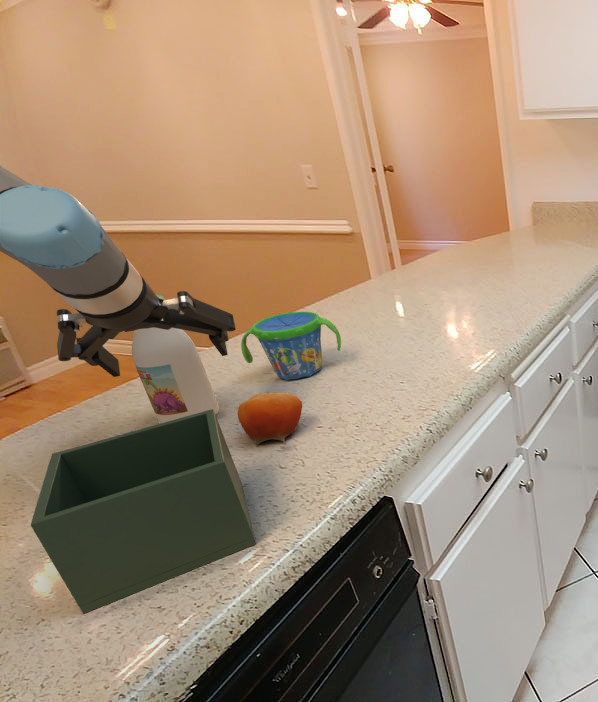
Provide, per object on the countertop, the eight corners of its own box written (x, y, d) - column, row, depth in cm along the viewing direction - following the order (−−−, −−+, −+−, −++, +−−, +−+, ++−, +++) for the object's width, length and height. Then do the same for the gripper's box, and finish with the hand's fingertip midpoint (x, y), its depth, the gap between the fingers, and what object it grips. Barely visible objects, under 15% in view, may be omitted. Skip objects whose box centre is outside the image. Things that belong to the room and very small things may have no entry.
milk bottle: (206, 402, 94) (161, 287, 85) (229, 413, 90) (186, 294, 82) (152, 423, 88) (99, 302, 79) (175, 436, 84) (122, 310, 76)
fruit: (230, 452, 77) (225, 395, 77) (254, 451, 84) (249, 398, 85) (295, 441, 78) (289, 385, 79) (313, 441, 86) (307, 390, 87)
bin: (94, 533, 65) (51, 453, 60) (241, 482, 73) (213, 408, 68) (83, 614, 54) (30, 524, 50) (256, 544, 62) (224, 461, 58)
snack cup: (352, 355, 109) (339, 306, 105) (340, 378, 100) (326, 325, 96) (264, 366, 106) (248, 315, 102) (243, 390, 97) (224, 336, 93)
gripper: (222, 248, 75) (260, 320, 93) (-36, 280, 64) (64, 354, 82) (231, 296, 73) (268, 360, 91) (-34, 338, 62) (68, 401, 80)
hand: (171, 358), depth 87 cm, fingers open, 13 cm apart
